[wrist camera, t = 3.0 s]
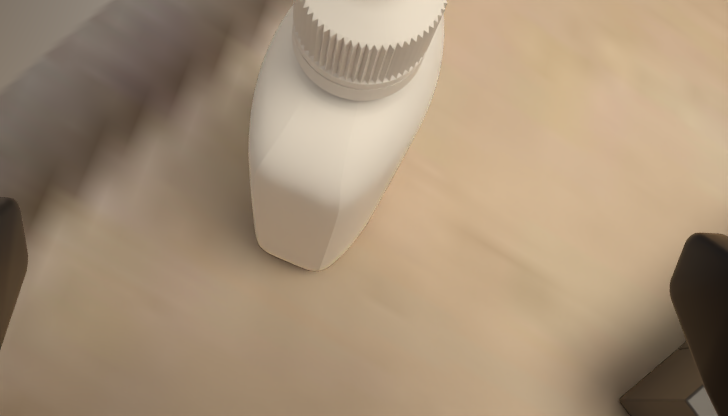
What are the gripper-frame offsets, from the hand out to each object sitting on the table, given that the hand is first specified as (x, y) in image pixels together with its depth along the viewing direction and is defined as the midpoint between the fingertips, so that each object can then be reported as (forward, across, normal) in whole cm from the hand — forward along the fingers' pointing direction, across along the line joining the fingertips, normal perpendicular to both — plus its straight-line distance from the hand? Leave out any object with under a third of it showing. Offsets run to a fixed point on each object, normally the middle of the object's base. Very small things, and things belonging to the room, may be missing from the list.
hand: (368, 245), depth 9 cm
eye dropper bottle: (+11, 0, +5) cm, 12 cm away
